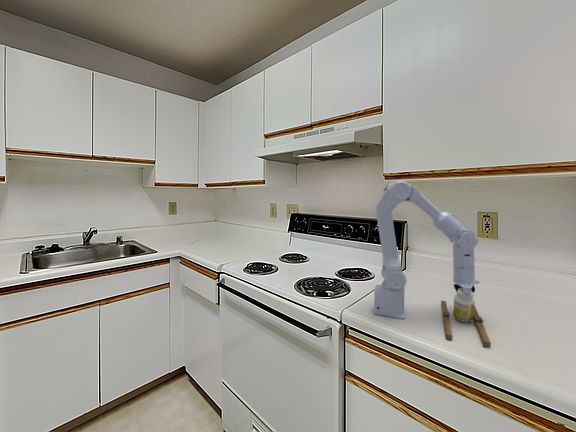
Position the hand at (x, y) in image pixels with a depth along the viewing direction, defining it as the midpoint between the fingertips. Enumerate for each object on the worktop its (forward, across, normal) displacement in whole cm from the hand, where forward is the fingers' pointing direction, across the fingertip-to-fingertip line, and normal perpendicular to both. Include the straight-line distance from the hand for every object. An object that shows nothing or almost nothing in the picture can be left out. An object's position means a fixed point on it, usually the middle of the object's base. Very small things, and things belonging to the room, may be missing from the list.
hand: (464, 307), depth 89 cm
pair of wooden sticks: (+3, -6, +2) cm, 6 cm away
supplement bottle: (+2, -2, +1) cm, 3 cm away
